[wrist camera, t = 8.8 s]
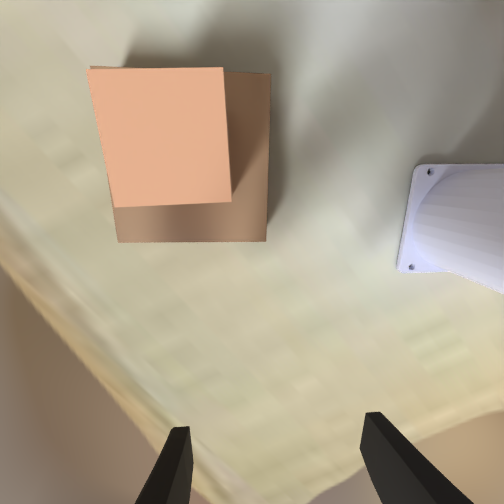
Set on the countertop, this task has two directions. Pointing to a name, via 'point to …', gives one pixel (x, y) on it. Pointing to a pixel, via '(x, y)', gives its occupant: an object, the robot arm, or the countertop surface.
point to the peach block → (163, 134)
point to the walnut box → (242, 172)
